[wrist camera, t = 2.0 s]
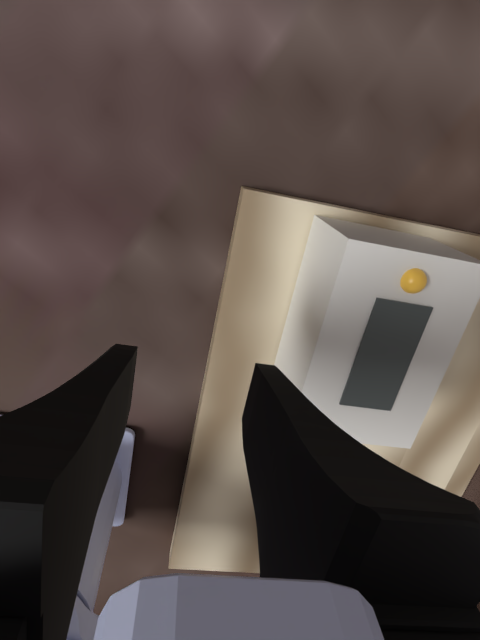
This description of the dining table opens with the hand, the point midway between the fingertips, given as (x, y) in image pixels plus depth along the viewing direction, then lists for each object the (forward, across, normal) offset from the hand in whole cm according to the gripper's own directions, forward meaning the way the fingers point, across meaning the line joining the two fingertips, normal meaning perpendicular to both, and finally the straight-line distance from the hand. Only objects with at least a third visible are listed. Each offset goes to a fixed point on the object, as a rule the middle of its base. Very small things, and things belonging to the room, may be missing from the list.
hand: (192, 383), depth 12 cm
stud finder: (+9, -8, 0) cm, 12 cm away
